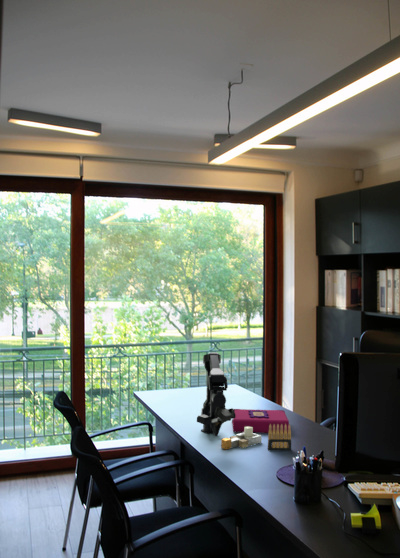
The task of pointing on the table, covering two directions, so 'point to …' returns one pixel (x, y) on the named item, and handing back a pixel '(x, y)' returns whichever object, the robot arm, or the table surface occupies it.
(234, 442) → the pin
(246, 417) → the book
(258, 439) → the socket
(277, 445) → the ammunition clip
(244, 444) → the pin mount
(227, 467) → the table surface
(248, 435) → the cream tapered cylinder
